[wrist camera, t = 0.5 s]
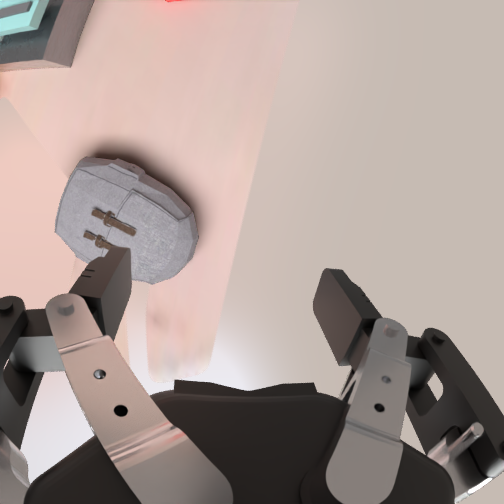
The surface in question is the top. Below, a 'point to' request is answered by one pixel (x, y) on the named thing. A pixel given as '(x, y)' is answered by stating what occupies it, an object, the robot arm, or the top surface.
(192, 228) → the small grey backpack
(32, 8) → the bar
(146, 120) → the top surface
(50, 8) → the box
